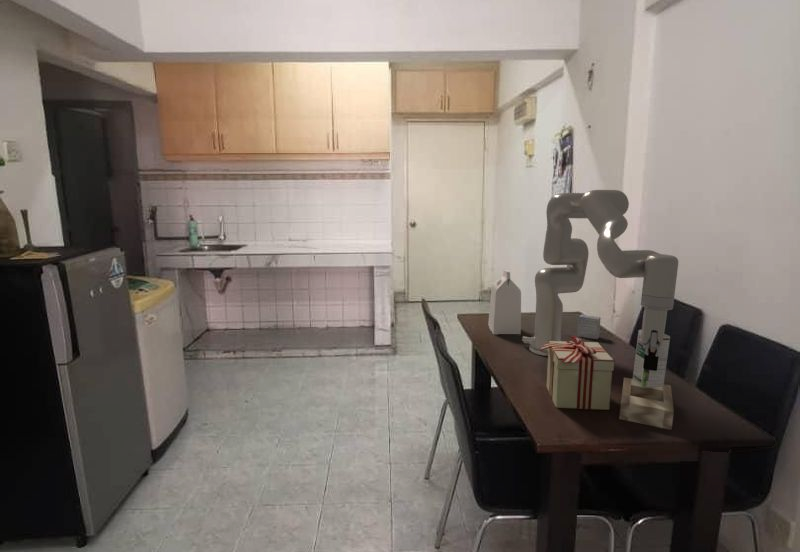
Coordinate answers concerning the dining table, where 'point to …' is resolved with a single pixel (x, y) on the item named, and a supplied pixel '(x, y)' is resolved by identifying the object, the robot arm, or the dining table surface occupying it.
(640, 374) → the syrup box
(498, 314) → the milk
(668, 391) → the socket block
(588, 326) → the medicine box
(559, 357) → the gift box
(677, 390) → the dining table surface
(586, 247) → the robot arm
